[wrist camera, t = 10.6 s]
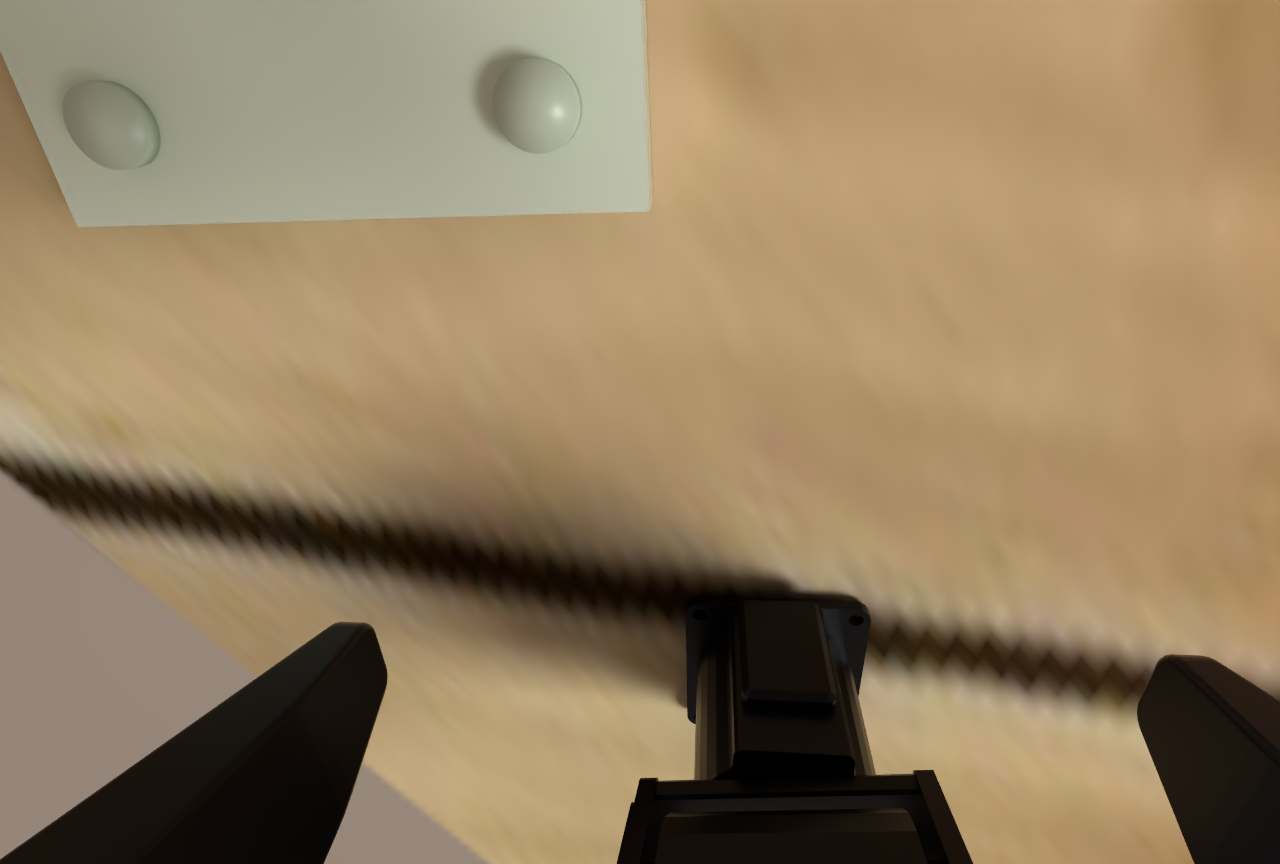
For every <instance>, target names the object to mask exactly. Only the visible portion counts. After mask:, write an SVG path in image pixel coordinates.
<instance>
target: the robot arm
mask: <svg viewBox="0 0 1280 864" xmlns="http://www.w3.org/2000/svg"><path fill="white" fill-rule="evenodd" d="M699 609H700V610H704V612H697V611H695V610H699ZM853 615H859V616H858V617H855V618H852V617H851V616H853ZM870 622H871V619H870V614H869V611H868V608H867V607H866V605H864V604H862V603H859V602H847V601H817V600H786V599H756V598H726V597H694V598H692V599H690V600H689V601H688V602H687V606H686V649H687V712H688V719H689V720H690V721H691V722H692V723H694V724H696V735H695V772H694V780H674V781H658V778H640V780H639V785H638V789H637V793H636V797H635V802H632V803H631V806H630V810H629V814H628V818H627V822H626V827H625V831H624V835H623V839H622V843H621V848H620V852H619V856H618V860H617V864H973V862H972V860H971V857H970V855H969V853H968V850H967V848H966V846H965V843H964V841H963V839H962V836H961V834H960V832H959V829H958V827H957V825H956V822H955V820H954V818H953V815H952V813H951V811H950V808H949V806H948V804H947V801H946V799H945V796H944V794H943V792H942V789H941V787H940V785H939V782H938V780H937V778H936V775H935V773H934V771H933V770H913V774H891V775H876V773H875V769H874V764H873V760H872V756H871V751H870V747H869V743H868V738H867V734H866V729H865V725H864V721H863V716H862V712H861V708H860V703H859V699H858V695H859V689H860V683H861V677H862V671H863V665H864V659H865V653H866V647H867V640H868V634H869V628H870ZM386 685H387V668H386V665H385V661H384V658H383V655H382V652H381V649H380V646H379V643H378V640H377V637H376V634H375V631H374V629H373V627H372V626H371V625H369V624H367V623H356V622H339V623H335V624H333V625H331V626H330V627H328V628H327V629H325V630H324V631H323V632H321V633H320V634H318V635H317V636H316V637H314V638H313V639H311V640H310V641H308V642H307V643H306V644H304V645H303V646H301V647H300V648H299V649H297V650H296V651H294V652H293V653H291V654H290V655H289V656H287V657H286V658H284V659H283V660H282V661H280V662H279V663H277V664H276V665H275V666H273V667H272V668H270V669H269V670H267V671H266V672H265V673H263V674H262V675H260V676H259V677H258V678H256V679H255V680H253V681H252V682H251V683H249V684H248V685H246V686H245V687H244V688H242V689H241V690H239V691H238V692H236V693H235V694H233V695H232V696H231V697H229V698H228V699H226V700H225V701H224V702H222V703H221V704H219V705H218V706H217V707H215V708H214V709H212V710H211V711H210V712H208V713H207V714H205V715H204V716H203V717H201V718H200V719H198V720H197V721H195V722H194V723H192V724H191V725H190V726H188V727H187V728H185V729H184V730H183V731H181V732H180V733H178V734H177V735H176V736H174V737H173V738H171V739H170V740H168V741H167V742H166V743H164V744H163V745H161V746H160V747H159V748H157V749H156V750H154V751H153V752H151V753H150V754H149V755H147V756H146V757H144V758H143V759H142V760H140V761H139V762H137V763H136V764H134V765H133V766H132V767H130V768H129V769H127V770H126V771H125V772H123V773H122V774H120V775H119V776H118V777H116V778H115V779H113V780H112V781H111V782H109V783H108V784H106V785H105V786H103V787H102V788H101V789H99V790H98V791H96V792H95V793H93V794H92V795H91V796H89V797H88V798H86V799H85V800H84V801H82V802H81V803H79V804H78V805H77V806H75V807H74V808H72V809H71V810H69V811H68V812H67V813H65V814H64V815H63V816H61V817H59V818H58V819H57V820H55V821H54V822H52V823H51V824H50V825H48V826H47V827H45V828H44V829H42V830H41V831H40V832H38V833H37V834H35V835H34V836H33V837H31V838H30V839H28V840H27V841H25V842H24V843H23V844H21V845H20V846H18V847H17V848H16V849H14V850H13V851H11V852H10V853H8V854H7V855H6V856H4V857H3V858H1V859H0V864H324V861H325V859H326V857H327V854H328V852H329V850H330V848H331V845H332V843H333V841H334V838H335V836H336V834H337V831H338V829H339V827H340V824H341V822H342V819H343V817H344V814H345V811H346V809H347V806H348V803H349V800H350V797H351V795H352V792H353V789H354V785H355V782H356V779H357V776H358V773H359V770H360V767H361V764H362V761H363V758H364V755H365V752H366V749H367V746H368V742H369V739H370V736H371V733H372V730H373V727H374V724H375V721H376V718H377V715H378V712H379V708H380V705H381V702H382V699H383V696H384V693H385V690H386ZM1137 716H1138V722H1139V726H1140V729H1141V732H1142V735H1143V737H1144V740H1145V742H1146V745H1147V747H1148V750H1149V752H1150V755H1151V757H1152V760H1153V762H1154V765H1155V767H1156V770H1157V772H1158V775H1159V777H1160V780H1161V782H1162V785H1163V787H1164V790H1165V792H1166V795H1167V797H1168V799H1169V802H1170V804H1171V807H1172V809H1173V812H1174V814H1175V817H1176V819H1177V822H1178V824H1179V827H1180V829H1181V832H1182V834H1183V837H1184V839H1185V842H1186V844H1187V847H1188V849H1189V852H1190V854H1191V856H1192V859H1193V861H1194V863H1195V864H1280V701H1279V700H1278V699H1276V698H1275V697H1273V696H1272V695H1270V694H1268V693H1267V692H1265V691H1264V690H1262V689H1260V688H1259V687H1257V686H1256V685H1254V684H1252V683H1251V682H1249V681H1248V680H1246V679H1245V678H1243V677H1241V676H1240V675H1238V674H1237V673H1235V672H1233V671H1232V670H1230V669H1229V668H1227V667H1226V666H1224V665H1222V664H1221V663H1219V662H1217V661H1216V660H1214V659H1212V658H1209V657H1205V656H1197V655H1171V654H1170V655H1165V656H1164V657H1162V658H1161V659H1160V660H1159V661H1158V662H1157V664H1156V666H1155V668H1154V670H1153V673H1152V675H1151V677H1150V679H1149V681H1148V683H1147V686H1146V688H1145V690H1144V692H1143V694H1142V696H1141V699H1140V701H1139V704H1138V710H1137Z"/></svg>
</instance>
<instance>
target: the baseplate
mask: <svg viewBox="0 0 1280 864" xmlns="http://www.w3.org/2000/svg"><path fill="white" fill-rule="evenodd" d="M0 52H1V54H2V57H3V59H4V61H5V63H6V66H7V68H8V70H9V72H10V75H11V77H12V79H13V82H14V84H15V86H16V88H17V91H18V93H19V95H20V98H21V100H22V102H23V104H24V107H25V109H26V111H27V113H28V116H29V118H30V120H31V123H32V125H33V127H34V129H35V132H36V134H37V136H38V138H39V141H40V143H41V145H42V148H43V150H44V152H45V154H46V157H47V159H48V161H49V163H50V166H51V168H52V170H53V173H54V175H55V177H56V179H57V182H58V184H59V186H60V188H61V191H62V193H63V195H64V198H65V200H66V202H67V204H68V207H69V209H70V211H71V213H72V216H73V218H74V220H75V223H76V225H77V227H111V226H146V225H182V224H217V223H252V222H288V221H323V220H358V219H393V218H429V217H464V216H499V215H535V214H570V213H605V212H641V211H649V210H650V207H651V205H652V203H653V200H652V171H651V142H650V113H649V84H648V55H647V26H646V0H0Z"/></svg>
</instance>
